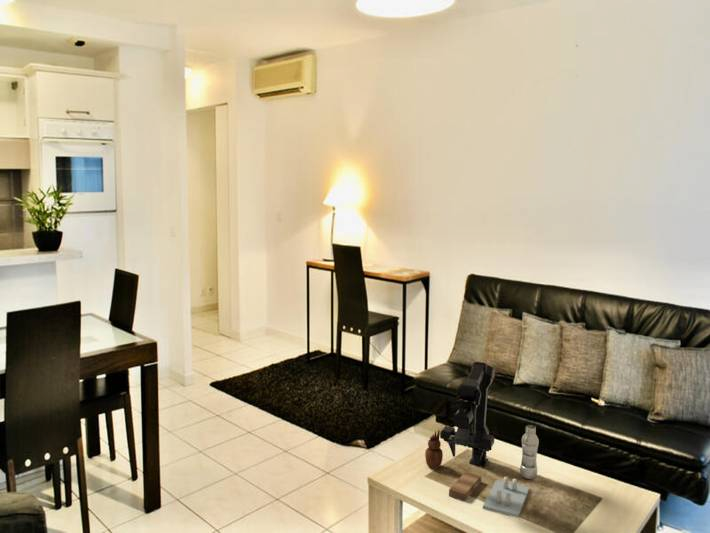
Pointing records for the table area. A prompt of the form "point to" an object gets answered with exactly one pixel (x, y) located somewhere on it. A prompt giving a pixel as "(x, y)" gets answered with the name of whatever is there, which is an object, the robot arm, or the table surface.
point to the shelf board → (465, 486)
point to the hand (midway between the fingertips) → (466, 459)
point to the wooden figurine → (434, 452)
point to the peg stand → (506, 497)
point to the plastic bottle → (529, 453)
